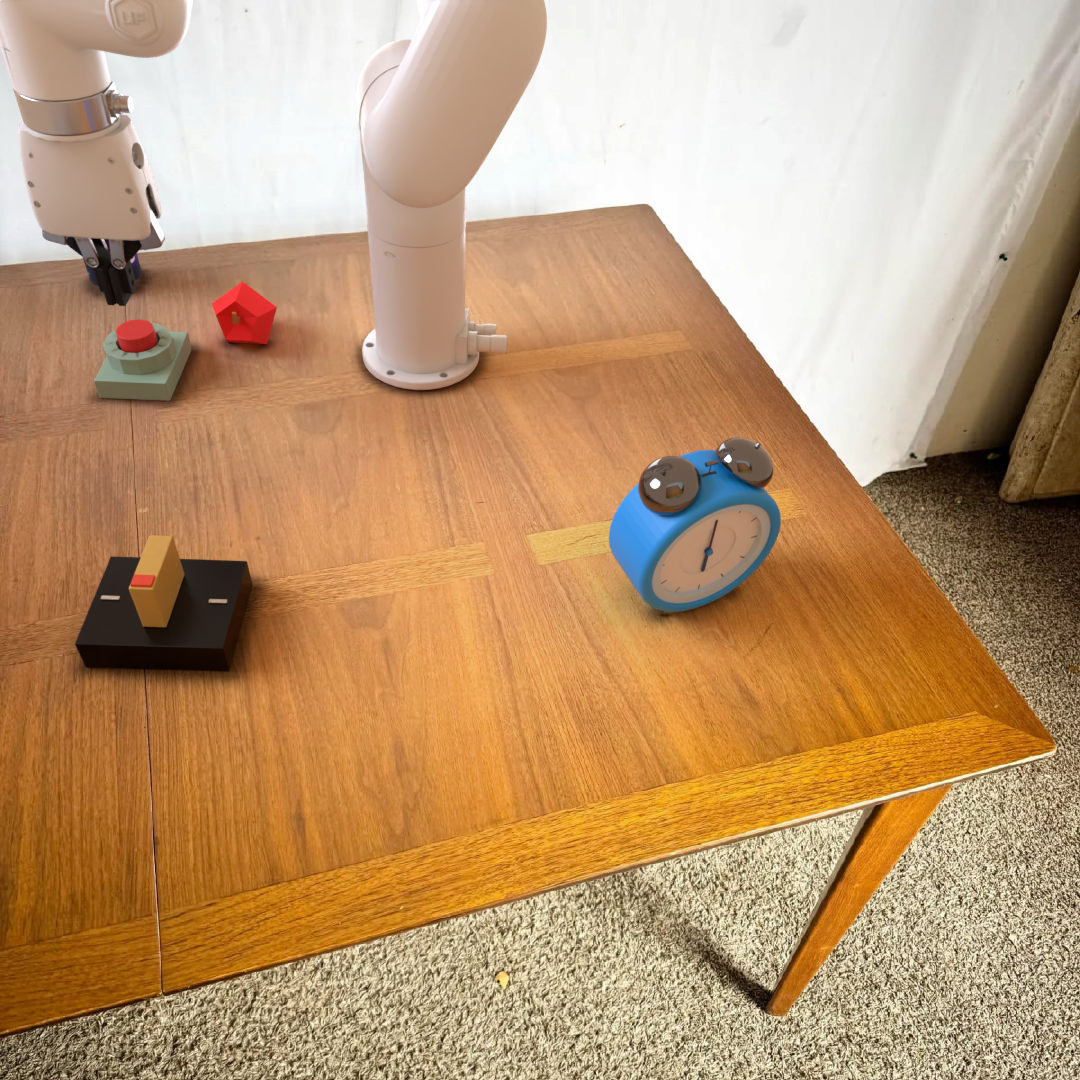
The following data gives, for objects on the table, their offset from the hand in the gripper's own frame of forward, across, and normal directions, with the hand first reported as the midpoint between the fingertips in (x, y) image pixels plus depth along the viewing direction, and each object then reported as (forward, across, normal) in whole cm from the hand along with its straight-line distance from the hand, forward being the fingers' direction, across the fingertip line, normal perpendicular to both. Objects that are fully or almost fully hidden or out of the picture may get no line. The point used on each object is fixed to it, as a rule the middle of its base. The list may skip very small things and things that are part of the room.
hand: (121, 297), depth 93 cm
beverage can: (+9, +7, -17) cm, 21 cm away
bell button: (+5, -1, 0) cm, 5 cm away
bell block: (+9, -1, 0) cm, 9 cm away
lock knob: (+6, -11, +33) cm, 35 cm away
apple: (+9, -10, -7) cm, 15 cm away
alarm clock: (+8, -54, +27) cm, 60 cm away
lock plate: (+9, -12, +33) cm, 36 cm away
